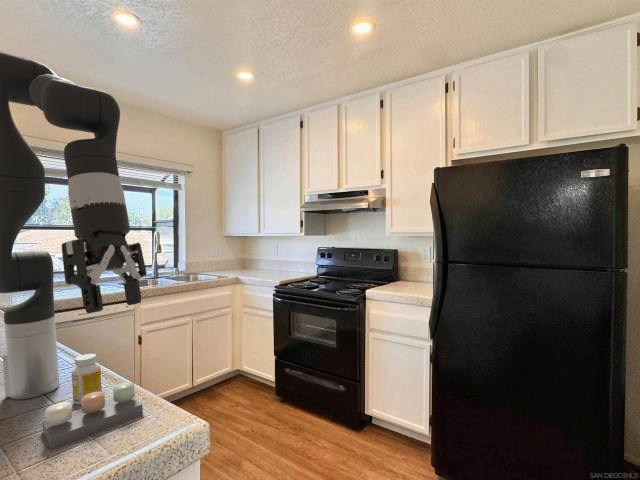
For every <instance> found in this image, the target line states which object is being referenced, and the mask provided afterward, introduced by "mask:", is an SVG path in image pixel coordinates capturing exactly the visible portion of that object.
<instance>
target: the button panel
mask: <svg viewBox="0 0 640 480" xmlns="http://www.w3.org/2000/svg"><path fill="white" fill-rule="evenodd" d="M143 411H144V409H143V403H141V402H140V401H139V400H138V399H137V398H135V396H134V397H133V398H132V399H130V400H128V401H124V402H115V401H114V397H112V398H108V399H105V407H104V408H103V409H101V410H99V411H96V412H93V413H83V412H82V407H81V408H79V409H76V410H72V418H71V419H70V420H69V421H67V422H65V423H62V424H59V425H55V426H48V425H47V424H46V420H43V421H42V422H41V423H42V424H41V429H42V434H43V435H44V437H45V439H46V442H47V444H48V445H49V448H50V449H51V450H54V449H57V448H59V447H62V446H64V445H66V444H69V443H72V442H75V441H78V440H79V439H83V438H85V437H88V436H89V435H92V434H95V433H97V432H100V431H103V430H106V429H107V428H111V427H113V426H115V425H118V424H120V423H122V422H125V421H128V420H131V419H134V418H136V417H139V416H141V415H143V414H144V412H143Z"/></svg>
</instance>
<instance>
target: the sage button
mask: <svg viewBox="0 0 640 480" xmlns="http://www.w3.org/2000/svg"><path fill="white" fill-rule="evenodd" d="M112 391H113V392H112V393H113V398H114V401H115V402H124V401H128V400H130V399H132V398H133V397H134V398H135V395H136V394H135V393H136V392H135V383H134V382H131V381H126V382H125V381H124V382H121V383H118V384H116V385H115V386H113V388H112Z"/></svg>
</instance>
